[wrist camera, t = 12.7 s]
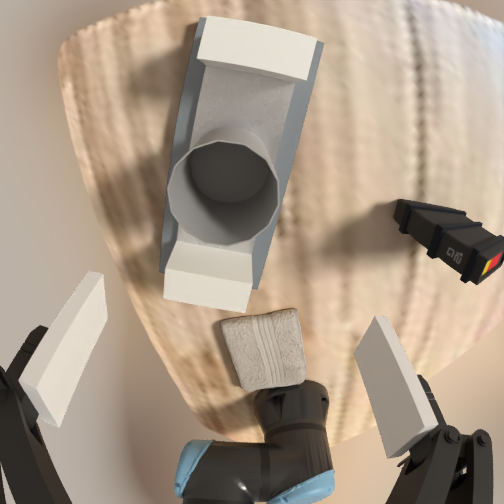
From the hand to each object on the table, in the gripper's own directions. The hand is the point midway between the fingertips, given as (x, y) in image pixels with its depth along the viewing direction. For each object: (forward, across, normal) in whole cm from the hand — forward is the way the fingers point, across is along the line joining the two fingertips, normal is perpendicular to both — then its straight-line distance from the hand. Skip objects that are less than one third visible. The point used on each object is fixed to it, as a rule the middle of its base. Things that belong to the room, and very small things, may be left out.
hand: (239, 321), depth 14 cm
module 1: (+21, +2, +10) cm, 23 cm away
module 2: (+20, +2, -14) cm, 25 cm away
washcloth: (+24, -9, +27) cm, 37 cm away
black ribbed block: (+23, -26, -2) cm, 35 cm away
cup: (+21, +2, -2) cm, 21 cm away
